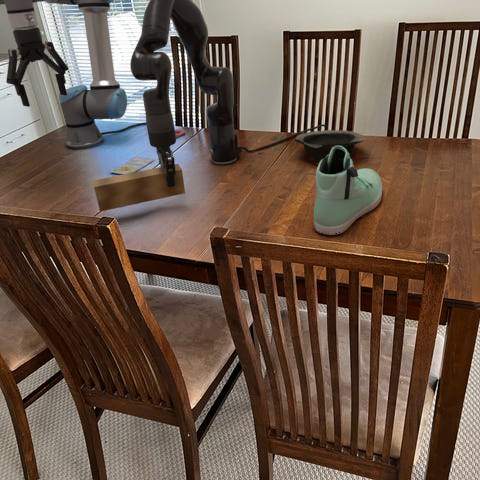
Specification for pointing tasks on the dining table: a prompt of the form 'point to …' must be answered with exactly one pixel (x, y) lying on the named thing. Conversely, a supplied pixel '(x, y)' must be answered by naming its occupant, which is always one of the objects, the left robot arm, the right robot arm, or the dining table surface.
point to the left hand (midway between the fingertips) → (45, 100)
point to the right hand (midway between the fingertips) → (169, 182)
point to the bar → (136, 188)
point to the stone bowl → (328, 142)
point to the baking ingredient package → (131, 166)
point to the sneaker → (343, 192)
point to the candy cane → (179, 132)
